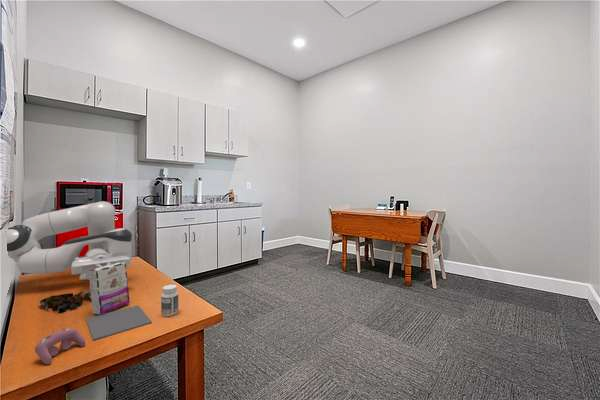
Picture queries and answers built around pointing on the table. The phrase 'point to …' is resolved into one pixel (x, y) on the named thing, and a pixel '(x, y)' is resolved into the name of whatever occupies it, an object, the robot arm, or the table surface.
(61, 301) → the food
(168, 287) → the pill bottle
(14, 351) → the table surface
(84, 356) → the table surface
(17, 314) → the table surface
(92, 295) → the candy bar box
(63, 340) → the video game controller
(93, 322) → the mat
